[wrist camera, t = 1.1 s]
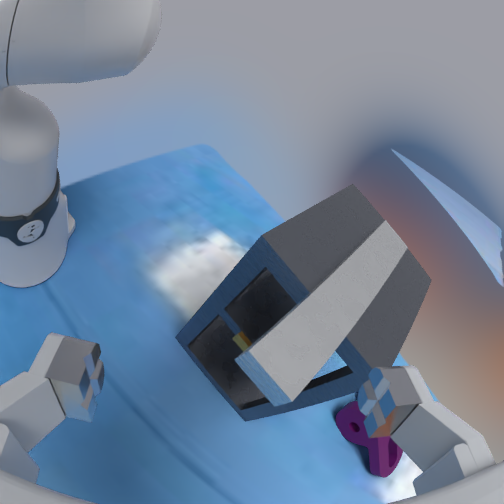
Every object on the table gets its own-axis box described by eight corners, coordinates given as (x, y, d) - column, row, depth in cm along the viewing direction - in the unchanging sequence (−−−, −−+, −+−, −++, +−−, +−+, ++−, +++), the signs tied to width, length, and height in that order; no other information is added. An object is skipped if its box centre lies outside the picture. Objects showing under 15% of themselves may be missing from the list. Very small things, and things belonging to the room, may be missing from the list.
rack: (172, 339, 45) (257, 237, 26) (257, 280, 58) (352, 183, 39) (242, 423, 42) (380, 387, 23) (314, 349, 55) (431, 280, 37)
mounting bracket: (370, 447, 55) (362, 378, 54) (404, 455, 49) (402, 383, 48) (343, 475, 49) (332, 404, 48) (380, 486, 43) (375, 413, 42)
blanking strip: (234, 359, 19) (248, 350, 18) (373, 230, 36) (385, 220, 34) (274, 406, 19) (292, 401, 17) (395, 256, 35) (407, 247, 34)
